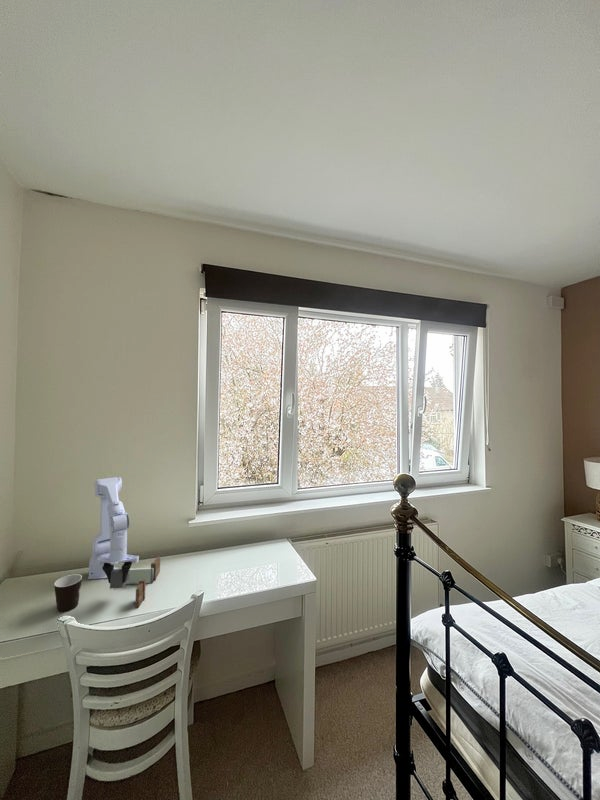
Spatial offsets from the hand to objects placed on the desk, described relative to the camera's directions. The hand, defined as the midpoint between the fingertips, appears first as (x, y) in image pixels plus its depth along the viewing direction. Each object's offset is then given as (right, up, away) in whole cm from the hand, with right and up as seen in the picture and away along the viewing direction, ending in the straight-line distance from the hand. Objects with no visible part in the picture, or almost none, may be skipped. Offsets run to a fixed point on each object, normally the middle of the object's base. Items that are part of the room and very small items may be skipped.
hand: (117, 581), depth 123 cm
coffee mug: (-18, -8, -1) cm, 20 cm away
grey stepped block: (0, -2, +2) cm, 3 cm away
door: (+2, -8, +14) cm, 16 cm away
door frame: (+7, -9, +10) cm, 15 cm away
